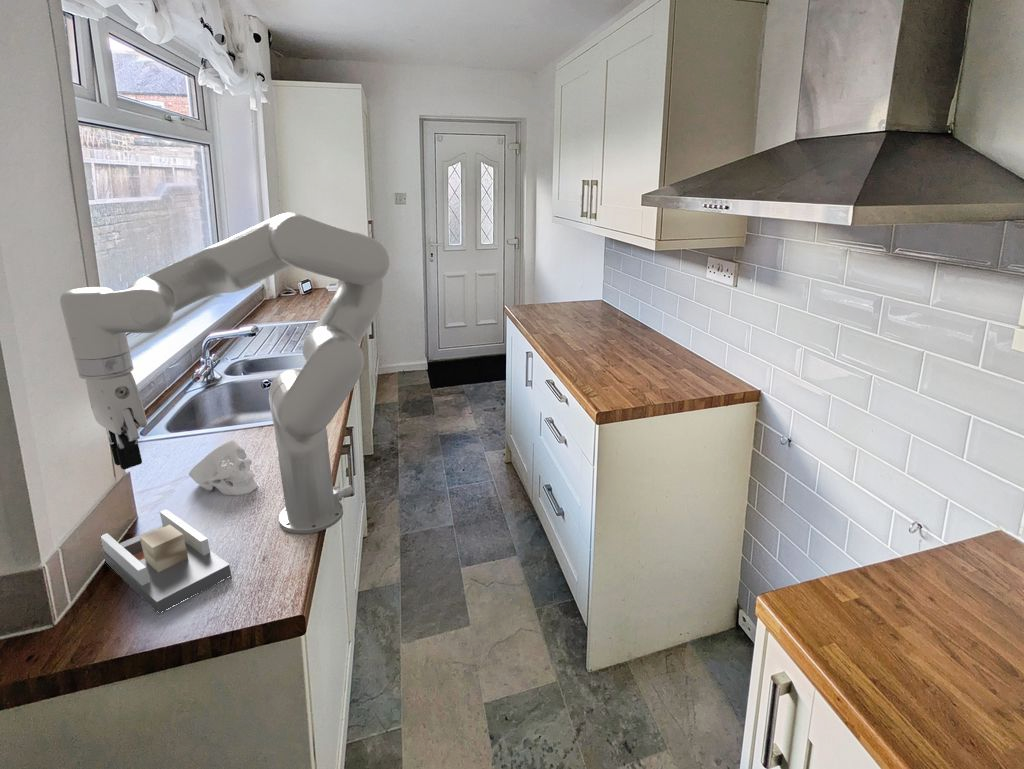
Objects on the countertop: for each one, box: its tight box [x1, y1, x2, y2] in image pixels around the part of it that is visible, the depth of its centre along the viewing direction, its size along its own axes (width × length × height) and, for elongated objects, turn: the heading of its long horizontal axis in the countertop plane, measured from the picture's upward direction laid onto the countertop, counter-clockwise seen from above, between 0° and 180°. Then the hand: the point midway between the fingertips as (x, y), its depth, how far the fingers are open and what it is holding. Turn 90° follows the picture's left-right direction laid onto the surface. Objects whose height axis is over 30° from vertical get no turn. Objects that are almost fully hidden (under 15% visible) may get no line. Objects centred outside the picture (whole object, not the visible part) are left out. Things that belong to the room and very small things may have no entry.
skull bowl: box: [188, 439, 258, 496], centre depth 132 cm, size 10×14×12 cm
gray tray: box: [100, 508, 232, 614], centre depth 104 cm, size 22×12×6 cm, turn 53°
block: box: [140, 524, 188, 572], centre depth 102 cm, size 5×5×5 cm
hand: (128, 463), depth 102 cm, fingers closed
